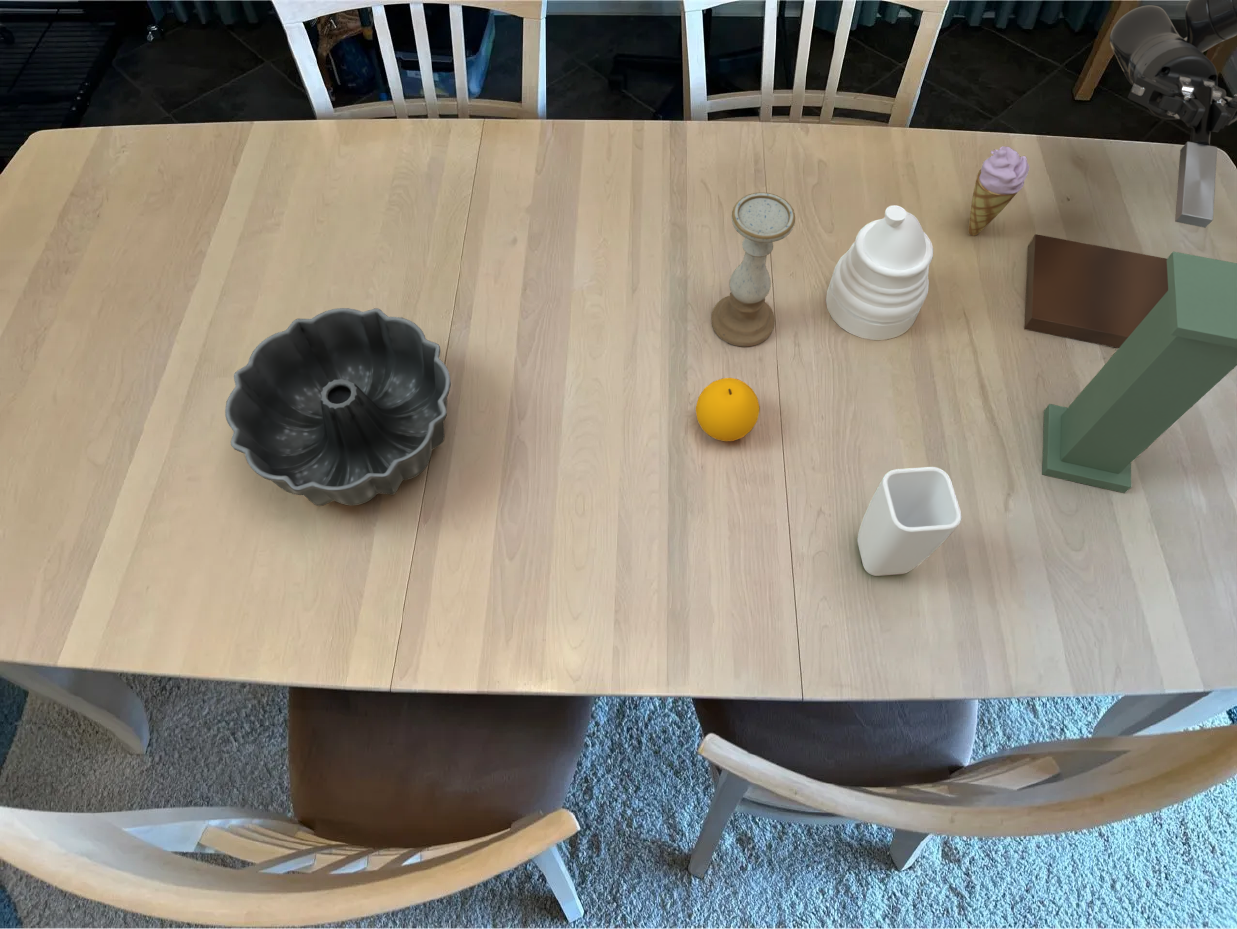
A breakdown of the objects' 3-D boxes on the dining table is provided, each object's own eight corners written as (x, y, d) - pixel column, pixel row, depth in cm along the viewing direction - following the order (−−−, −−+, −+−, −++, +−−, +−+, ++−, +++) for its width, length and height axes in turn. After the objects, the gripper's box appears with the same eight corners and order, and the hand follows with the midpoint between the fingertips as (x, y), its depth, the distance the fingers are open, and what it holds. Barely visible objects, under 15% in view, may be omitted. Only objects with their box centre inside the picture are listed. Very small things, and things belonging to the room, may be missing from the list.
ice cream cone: (948, 214, 127) (986, 131, 114) (990, 214, 127) (1032, 132, 114) (956, 247, 124) (995, 166, 111) (998, 247, 124) (1043, 167, 111)
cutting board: (1170, 272, 122) (1180, 260, 119) (1175, 359, 114) (1186, 348, 112) (1028, 245, 124) (1035, 233, 122) (1024, 329, 117) (1031, 317, 114)
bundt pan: (455, 340, 116) (441, 292, 107) (472, 509, 103) (458, 470, 95) (260, 367, 114) (230, 321, 105) (253, 543, 101) (218, 507, 93)
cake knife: (1213, 100, 97) (1223, 88, 95) (1205, 228, 91) (1215, 217, 90) (1184, 95, 97) (1193, 83, 96) (1174, 222, 92) (1184, 211, 90)
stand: (1123, 427, 109) (1279, 270, 83) (1124, 493, 104) (1290, 349, 78) (1043, 410, 110) (1172, 250, 84) (1041, 474, 105) (1177, 327, 80)
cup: (920, 580, 99) (966, 527, 86) (859, 584, 98) (896, 532, 85) (905, 524, 102) (947, 464, 89) (846, 528, 102) (879, 469, 89)
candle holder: (720, 352, 115) (738, 246, 97) (704, 303, 119) (718, 193, 101) (781, 341, 116) (810, 234, 98) (763, 293, 120) (788, 182, 102)
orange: (717, 460, 107) (723, 429, 100) (682, 415, 110) (686, 383, 103) (767, 431, 109) (776, 399, 102) (731, 388, 112) (738, 355, 105)
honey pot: (856, 352, 115) (894, 260, 99) (808, 286, 120) (837, 189, 105) (935, 321, 117) (984, 227, 102) (885, 258, 123) (923, 159, 107)
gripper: (1130, 36, 105) (1161, 74, 92) (1248, 56, 103) (1296, 96, 90) (1102, 99, 109) (1127, 142, 96) (1213, 118, 108) (1255, 166, 95)
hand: (1209, 120), depth 93 cm, fingers closed on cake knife, 2 cm apart
